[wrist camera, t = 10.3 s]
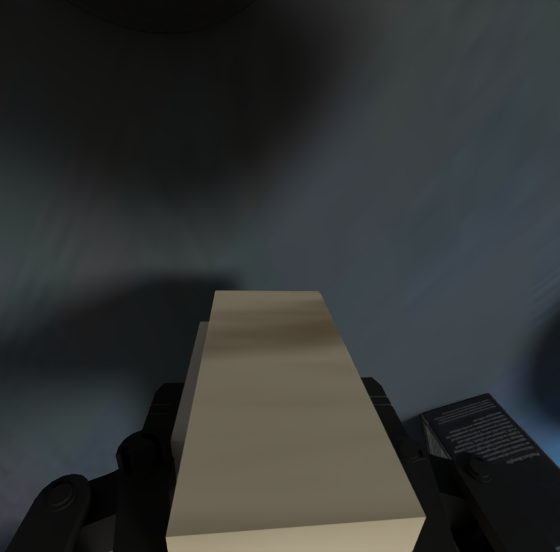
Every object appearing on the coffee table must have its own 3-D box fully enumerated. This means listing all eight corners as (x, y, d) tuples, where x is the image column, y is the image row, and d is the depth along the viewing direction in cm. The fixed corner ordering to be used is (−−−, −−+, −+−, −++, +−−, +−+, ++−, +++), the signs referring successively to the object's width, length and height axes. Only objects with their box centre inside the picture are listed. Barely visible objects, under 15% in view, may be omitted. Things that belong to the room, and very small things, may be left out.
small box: (496, 465, 31) (607, 614, 21) (431, 484, 31) (512, 639, 22) (493, 389, 26) (632, 534, 17) (418, 413, 27) (512, 568, 17)
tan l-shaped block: (215, 290, 15) (165, 536, 6) (319, 291, 15) (425, 517, 6) (222, 545, 23) (207, 810, 14) (289, 540, 24) (316, 791, 15)
